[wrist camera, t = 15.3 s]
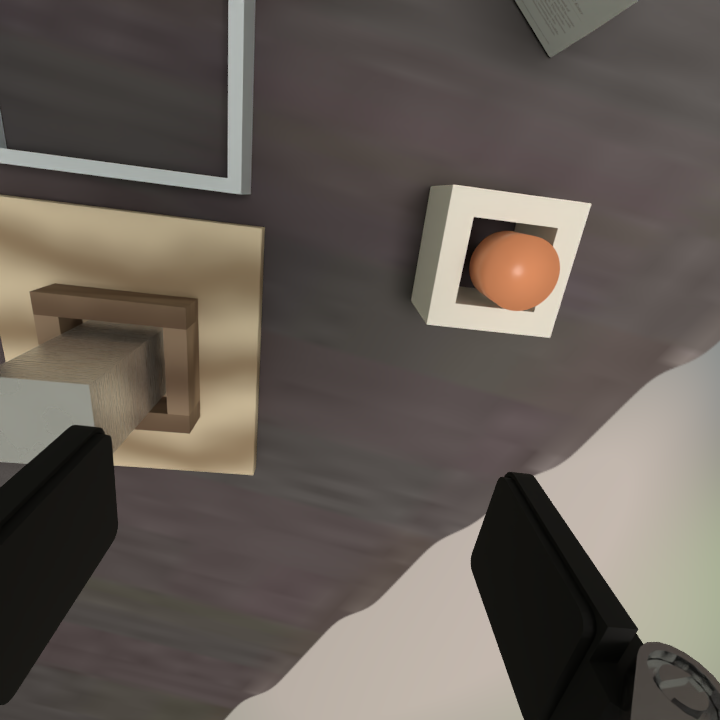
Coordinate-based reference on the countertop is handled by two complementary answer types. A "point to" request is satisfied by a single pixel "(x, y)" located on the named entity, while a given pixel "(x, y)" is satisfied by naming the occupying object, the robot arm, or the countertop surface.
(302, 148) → the countertop surface
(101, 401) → the block
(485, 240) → the button
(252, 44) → the tote tray
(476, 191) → the button post
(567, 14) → the small box
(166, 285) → the plate
